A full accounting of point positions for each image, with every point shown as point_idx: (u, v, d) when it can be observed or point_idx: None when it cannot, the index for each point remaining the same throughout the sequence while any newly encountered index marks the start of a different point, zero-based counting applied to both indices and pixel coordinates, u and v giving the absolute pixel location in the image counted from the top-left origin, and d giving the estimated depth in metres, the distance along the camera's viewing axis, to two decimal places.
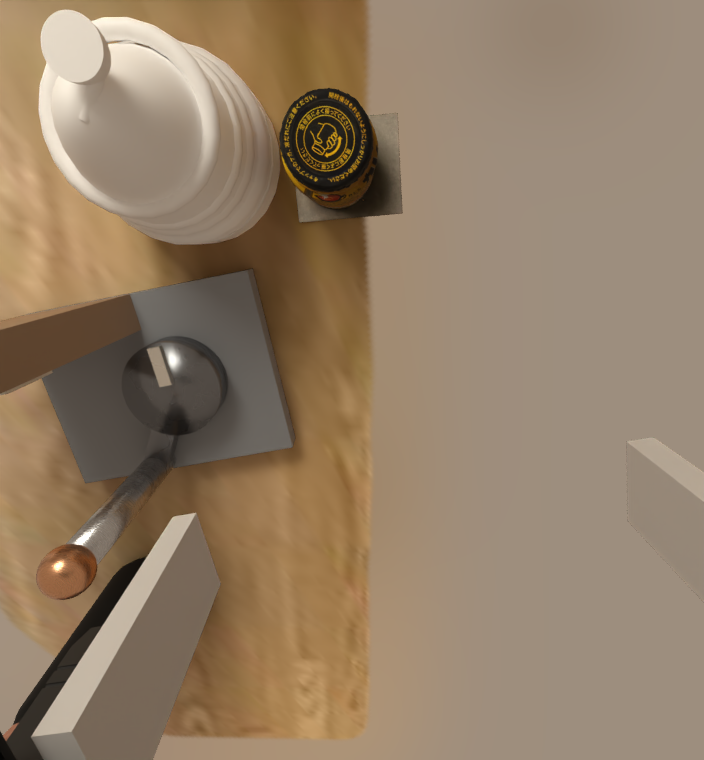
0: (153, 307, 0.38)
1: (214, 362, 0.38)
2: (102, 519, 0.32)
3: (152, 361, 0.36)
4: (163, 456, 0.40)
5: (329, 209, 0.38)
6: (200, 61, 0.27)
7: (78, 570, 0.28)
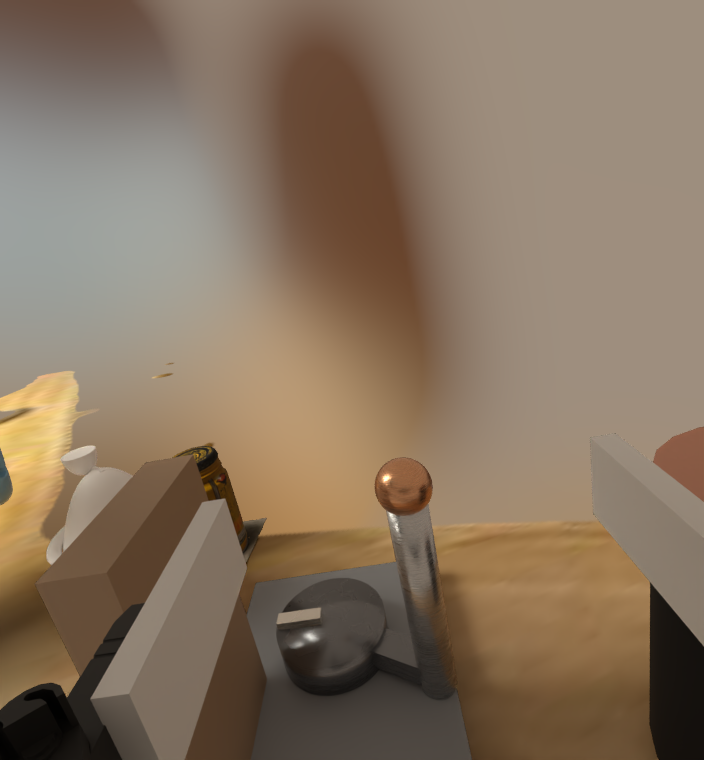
0: None
1: None
2: None
3: (290, 621, 0.33)
4: None
5: (244, 552, 0.51)
6: None
7: None
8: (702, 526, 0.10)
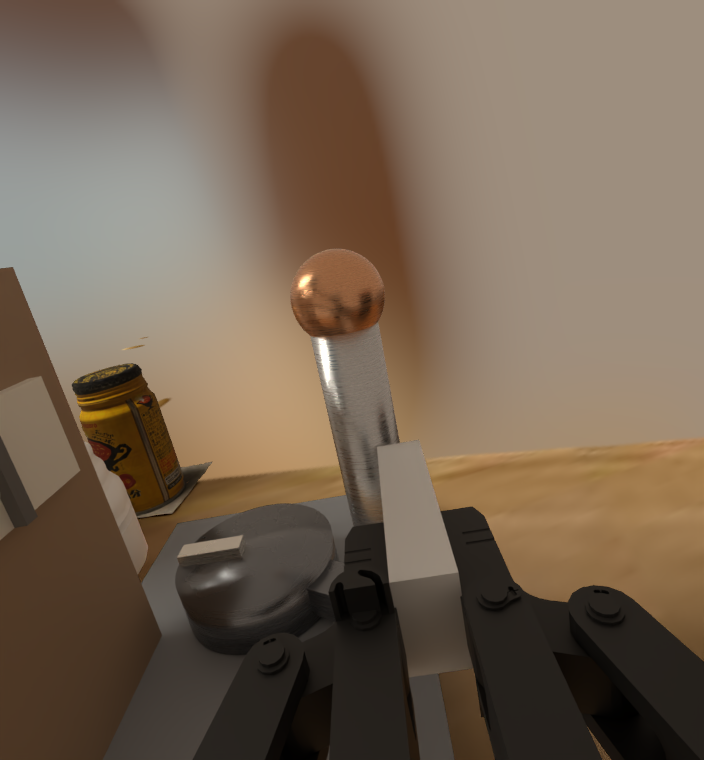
0: None
1: None
2: None
3: (197, 553, 0.23)
4: None
5: (178, 497, 0.40)
6: None
7: None
8: (420, 518, 0.12)
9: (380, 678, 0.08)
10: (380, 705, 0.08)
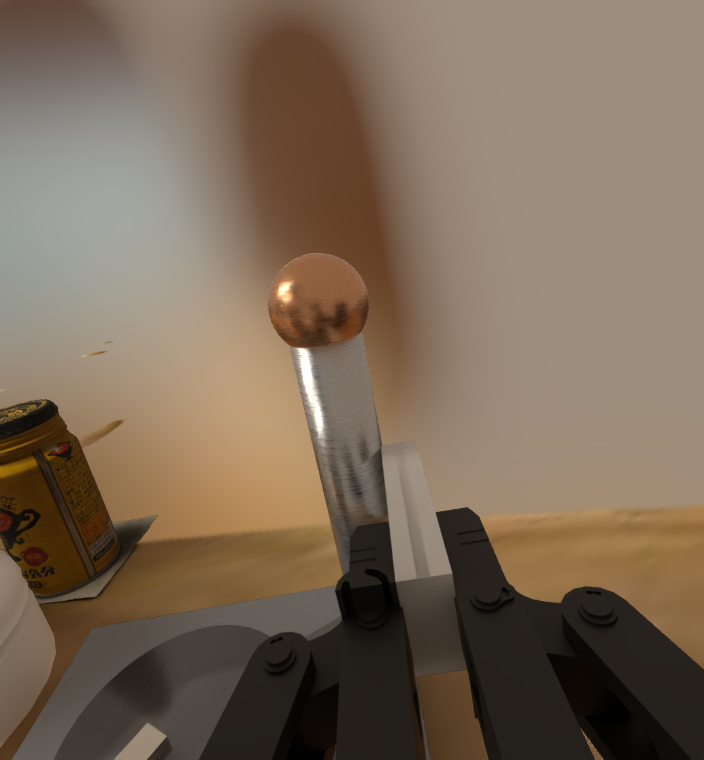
0: None
1: None
2: (309, 424, 0.15)
3: None
4: None
5: (108, 569, 0.32)
6: None
7: None
8: (414, 519, 0.12)
9: (387, 677, 0.08)
10: (387, 704, 0.07)
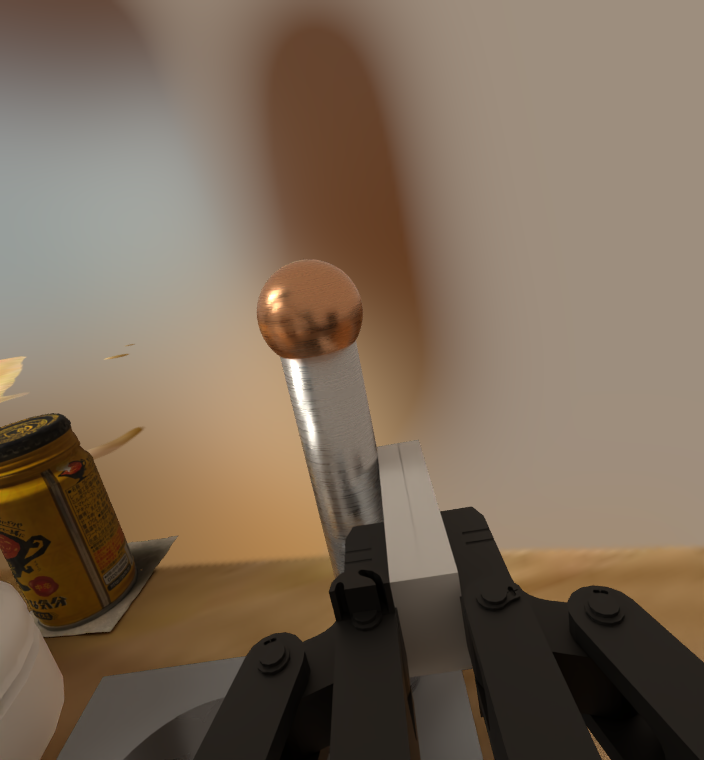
0: None
1: None
2: (309, 441, 0.14)
3: None
4: None
5: (124, 599, 0.29)
6: None
7: None
8: (419, 518, 0.12)
9: (381, 678, 0.08)
10: (381, 705, 0.08)
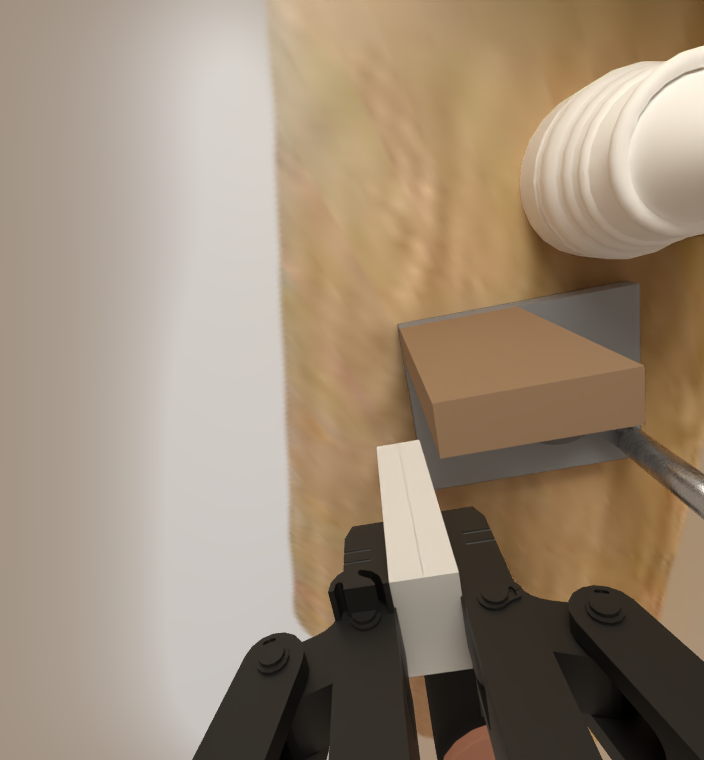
0: None
1: None
2: (693, 491, 0.31)
3: None
4: (622, 428, 0.40)
5: None
6: None
7: None
8: (420, 518, 0.12)
9: (380, 678, 0.08)
10: (380, 705, 0.08)
